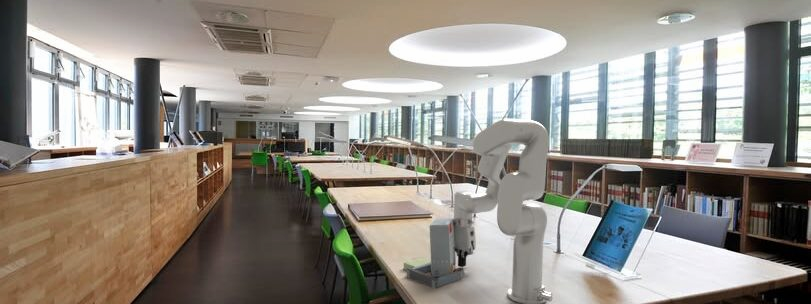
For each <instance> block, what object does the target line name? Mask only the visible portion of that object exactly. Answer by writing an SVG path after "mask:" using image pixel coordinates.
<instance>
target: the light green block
mask: <svg viewBox="0 0 811 304" xmlns="http://www.w3.org/2000/svg"><path fill="white" fill-rule="evenodd" d="M428 263H431V259H427V258H425V257H419V258H415V259H411V260H407V261H404V262H403V270H406V271H407V268H414V267H418V266H421V265H424V264H428Z"/></svg>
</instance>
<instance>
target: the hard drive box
mask: <svg viewBox="0 0 811 304" xmlns="http://www.w3.org/2000/svg"><path fill="white" fill-rule="evenodd" d="M429 246H430V247H429V248H430V249H429V251H430V261H431V271H430V272H431V273H430V274H431V275H430V276H432V277H435V278H439V277H442V276H445V275H448V274H451V273H454V272H455V271H454V270H455V268H456V266H457V260H456V259H457V257H456V256H457V254H456V251H455V243H454V217H436V218H435V219H434V220H433V222H432V223H430V225H429Z"/></svg>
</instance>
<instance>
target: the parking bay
mask: <svg viewBox="0 0 811 304" xmlns="http://www.w3.org/2000/svg"><path fill="white" fill-rule="evenodd" d="M427 272H431V263H428V264H424V265H421V266H418V267H414V268H407V270H406V277H407V278H411V279H412V280H415V281H418V282H420V283H422V284H424V285H426V286H428V287H431V288H434V289H437V288H440V287H443V286H444V285H448V284H451V283H452V282H453V283H454V282H455V281H458V280H462V275H463V274H462V273H463V272H462V271H460V270H457V271H453V273H451V274H448V275H445V276H442V277H432V276H431V275H429V274H427Z"/></svg>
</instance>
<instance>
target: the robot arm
mask: <svg viewBox="0 0 811 304" xmlns="http://www.w3.org/2000/svg"><path fill="white" fill-rule="evenodd" d="M511 145H513V146H515V145H523V146H524V148H523V150H522V151H521V154H520V155H519V163H518V164H519V166H518V171H515V172H514V171H513V172H509V173H507V174H505V175H504V176H503V177H502V178H500V176H501V172H502V169H503V167H504V164H505V162H506V159H507V157H508V154H509V151H510V149H511V147H512V146H511ZM549 147H550V137H549V133H548V131H547V129H546V127H545V126H544V125H542V124H541V123H540V122H538V121H534V120H532V119H531V120H530V119H520V118H519V119H517V118H504V119H500V120H497V121H496V122H494V123H492V124H490V125H489V126H487V127H485V128H484V129H482V130H481V131H479V132H478V133H477V135H476V136H475V137H474V139H473V141H472V148H473V151H474V152H475V153H474V154H476V155H478V156H481V158H480V160H479V162H478V163H479V164H478V165H477V172H478V173H479V174H480V175H481V176H483V177H485V178H486V179H488V184H487V186H486V190H485V192H479V193H472V192H471V191H465V190H459V191H455V193H454V196H453V197H454V198H453V200H454V203H453V218H454V243H455V254H456V256H457V267H460V268H463V267H466V266H467V257H468V256H471V255H474V250H476V246H477V244H476V243H477V242H476V241H477V240H476V239H477V238H476V230H475V227H474V224H475V221H474V220H473V215H474V214H479V213H480V214H481V213H489V212H491V211H492V212H493V210H495V208H496V210H497V211H496V222H497V226H498V228H499V231H501V232H502V234H504V235H506V236H510V237H511V236H514V240H513V247H512V248H513V249H512V276H511V277H512V278H511V279H512V284H511V287H510V288H508V289H507V291H506V295H507V297H508V298H509V299H510V300H512V301H514V302H517V303H519V304H544V303H545V302H550V303H551V302H552V301H553V293H552V292H549V291H546V289H545V288H546V286H545V285H543V265H544V264H543V262H544V261H543V259H544V256H543V255H544V239H545V234H546V228H547V225H548V215H547V212H546V211H545V210H544V208H543V207H542V206H540V205H539V204H537V203H524V202H527V201H535V200H538V199H541V198H542V197H543V195H544V194H545V188H546V173H547V160H548V153H549Z"/></svg>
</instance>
